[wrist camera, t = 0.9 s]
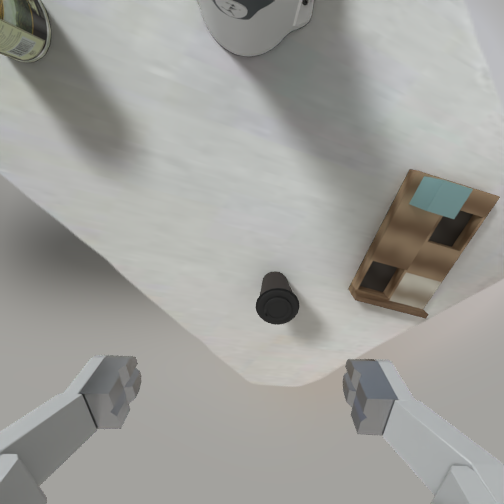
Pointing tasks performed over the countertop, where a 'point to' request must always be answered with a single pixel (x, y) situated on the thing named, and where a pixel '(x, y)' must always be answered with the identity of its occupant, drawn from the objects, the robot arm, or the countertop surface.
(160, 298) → the countertop surface
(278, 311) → the coffee cup
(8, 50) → the coffee can
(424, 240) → the board
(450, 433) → the robot arm
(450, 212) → the teal block
